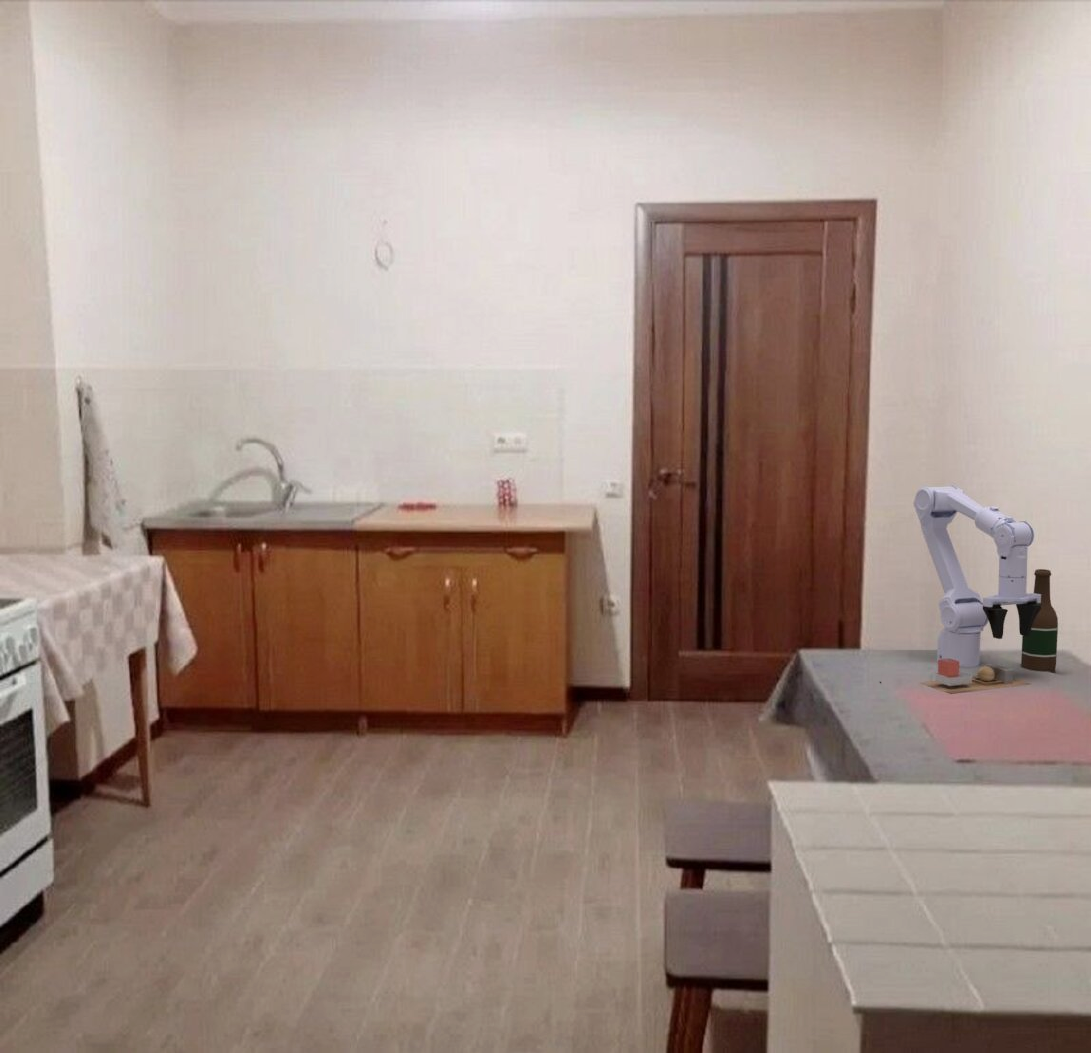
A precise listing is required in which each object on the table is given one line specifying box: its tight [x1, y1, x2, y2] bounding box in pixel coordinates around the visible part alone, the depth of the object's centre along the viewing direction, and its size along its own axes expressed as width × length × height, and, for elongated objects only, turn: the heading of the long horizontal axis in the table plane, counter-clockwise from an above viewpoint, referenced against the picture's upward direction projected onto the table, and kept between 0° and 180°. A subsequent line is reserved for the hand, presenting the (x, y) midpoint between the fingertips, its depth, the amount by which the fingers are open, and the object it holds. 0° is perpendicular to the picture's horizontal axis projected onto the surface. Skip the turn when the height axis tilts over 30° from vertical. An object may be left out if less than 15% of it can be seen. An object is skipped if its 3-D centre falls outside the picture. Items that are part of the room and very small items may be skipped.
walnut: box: [977, 665, 995, 682], centre depth 242 cm, size 4×4×4 cm
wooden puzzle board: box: [919, 663, 1031, 695], centre depth 241 cm, size 10×22×4 cm, turn 111°
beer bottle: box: [1020, 568, 1059, 674], centre depth 254 cm, size 8×8×24 cm
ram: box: [934, 658, 973, 686], centre depth 239 cm, size 4×6×5 cm
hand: (1011, 636), depth 246 cm, fingers open, 7 cm apart
